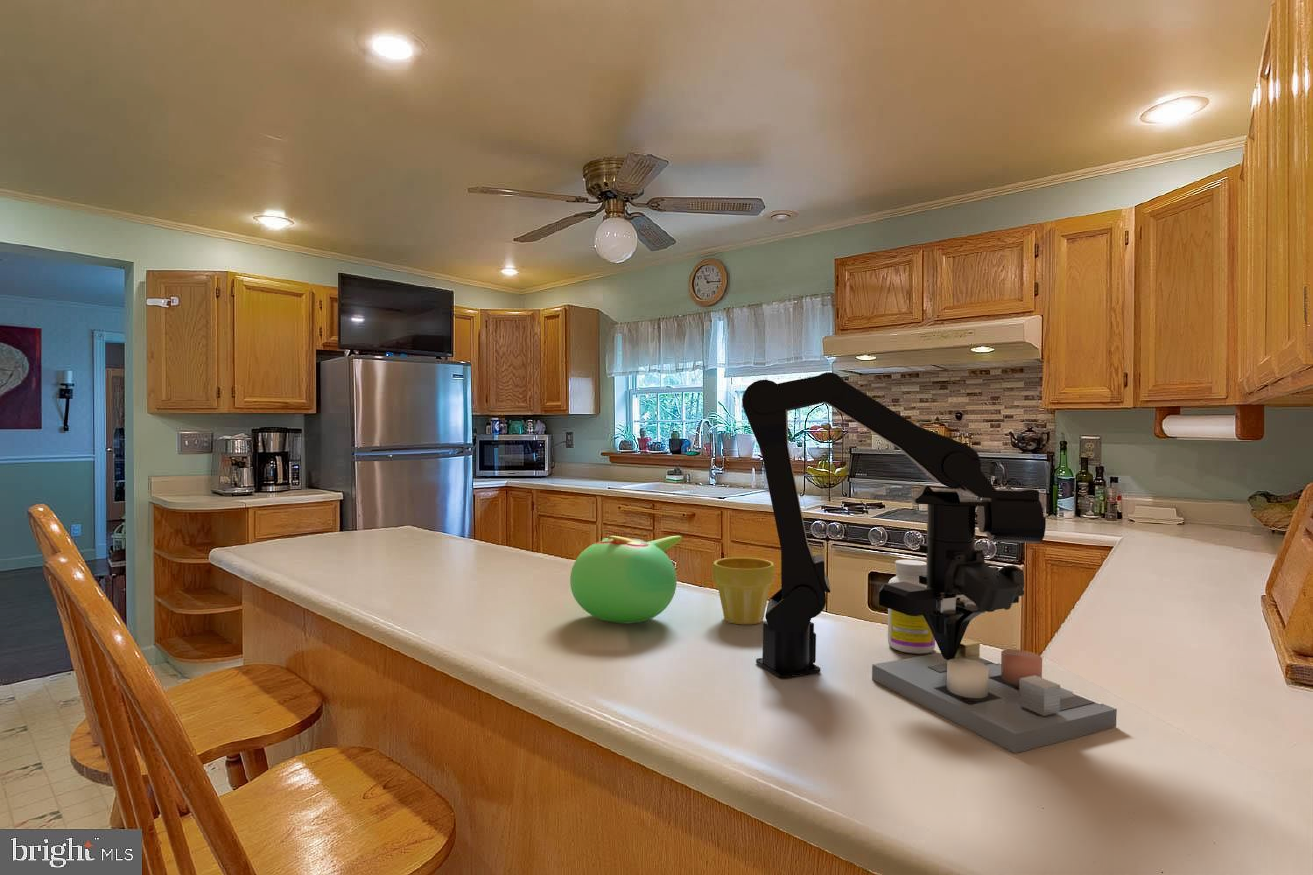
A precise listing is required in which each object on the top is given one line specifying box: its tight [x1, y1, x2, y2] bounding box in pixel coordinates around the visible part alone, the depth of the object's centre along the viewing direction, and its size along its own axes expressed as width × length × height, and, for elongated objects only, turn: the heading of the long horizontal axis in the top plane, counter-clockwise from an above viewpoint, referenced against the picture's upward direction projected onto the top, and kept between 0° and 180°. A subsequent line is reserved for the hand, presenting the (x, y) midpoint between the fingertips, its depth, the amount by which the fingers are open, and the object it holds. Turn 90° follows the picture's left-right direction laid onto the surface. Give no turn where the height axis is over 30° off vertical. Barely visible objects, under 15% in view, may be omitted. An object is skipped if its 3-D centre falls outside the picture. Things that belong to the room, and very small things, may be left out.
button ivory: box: [947, 658, 989, 698], centre depth 78 cm, size 4×4×3 cm
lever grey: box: [1018, 675, 1061, 716], centre depth 73 cm, size 2×3×3 cm
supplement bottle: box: [887, 559, 936, 655], centre depth 99 cm, size 7×7×13 cm
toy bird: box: [569, 535, 683, 624], centre depth 112 cm, size 18×17×15 cm
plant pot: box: [712, 556, 775, 626], centre depth 113 cm, size 10×10×10 cm
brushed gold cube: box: [947, 636, 981, 662], centre depth 87 cm, size 2×3×3 cm
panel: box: [871, 652, 1118, 754], centre depth 80 cm, size 16×21×2 cm
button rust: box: [1000, 648, 1043, 685], centre depth 81 cm, size 4×4×3 cm
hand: (948, 659), depth 86 cm, fingers closed
